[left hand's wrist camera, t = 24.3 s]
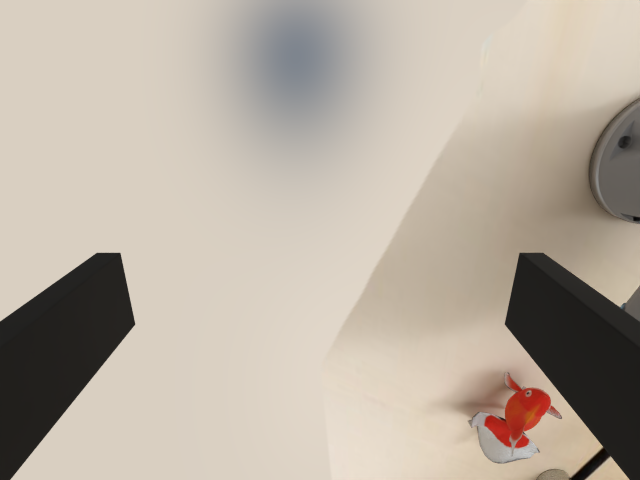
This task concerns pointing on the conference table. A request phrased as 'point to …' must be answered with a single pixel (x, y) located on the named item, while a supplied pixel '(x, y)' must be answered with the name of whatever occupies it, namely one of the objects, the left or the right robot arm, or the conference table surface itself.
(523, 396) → the fish
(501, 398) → the conference table surface
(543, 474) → the canister
